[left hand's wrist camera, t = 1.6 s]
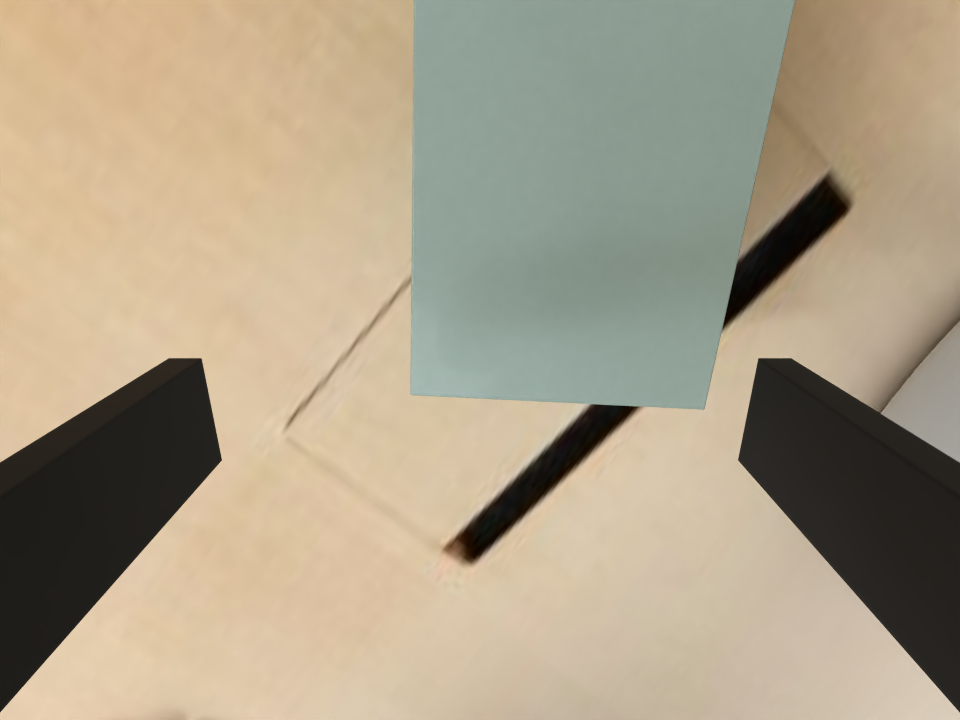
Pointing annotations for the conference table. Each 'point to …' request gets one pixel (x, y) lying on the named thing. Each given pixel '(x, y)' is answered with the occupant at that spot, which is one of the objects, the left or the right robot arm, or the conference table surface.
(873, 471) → the left robot arm
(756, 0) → the cabinet
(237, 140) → the conference table surface
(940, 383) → the projector
